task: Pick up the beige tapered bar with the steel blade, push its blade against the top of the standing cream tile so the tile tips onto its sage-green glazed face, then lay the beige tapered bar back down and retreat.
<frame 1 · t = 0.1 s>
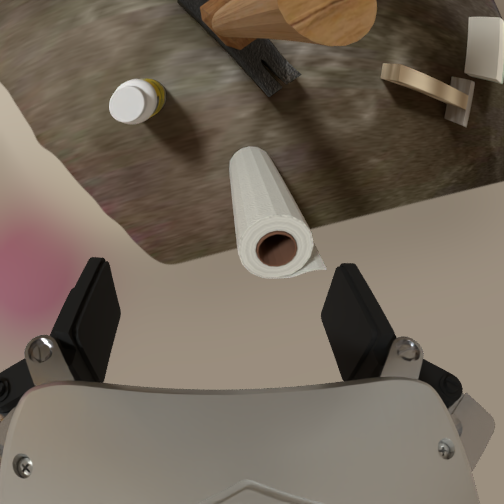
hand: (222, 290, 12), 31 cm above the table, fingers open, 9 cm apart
paper towel roll: (252, 169, 41), on the table
hammer: (229, 28, 29), on the table
supplement bottle: (147, 97, 33), on the table
tile: (470, 46, 29), on the table
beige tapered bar: (418, 84, 34), on the table
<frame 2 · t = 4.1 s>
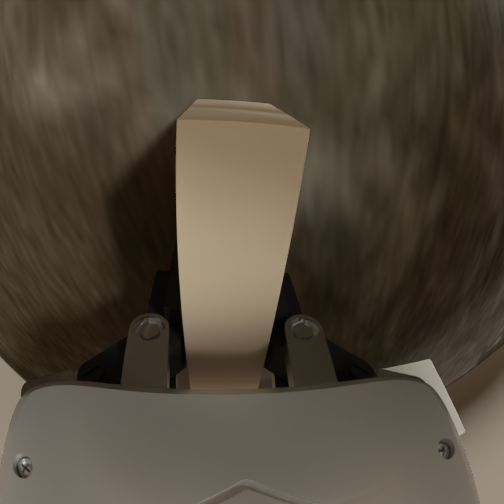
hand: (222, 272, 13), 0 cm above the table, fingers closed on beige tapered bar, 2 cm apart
tile: (370, 376, 21), on the table
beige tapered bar: (221, 266, 13), on the table, touching gripper
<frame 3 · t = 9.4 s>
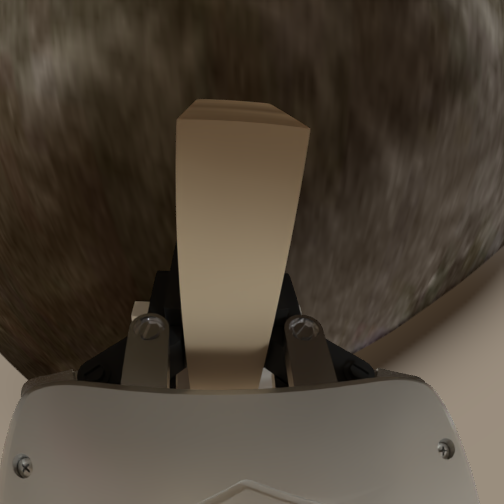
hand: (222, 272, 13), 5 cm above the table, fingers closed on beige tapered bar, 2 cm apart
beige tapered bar: (221, 266, 13), point 5 cm above the table, touching gripper
when the fingers open (2 cm above the table, at t = 14.5 s): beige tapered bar drops 1 cm, on the table.
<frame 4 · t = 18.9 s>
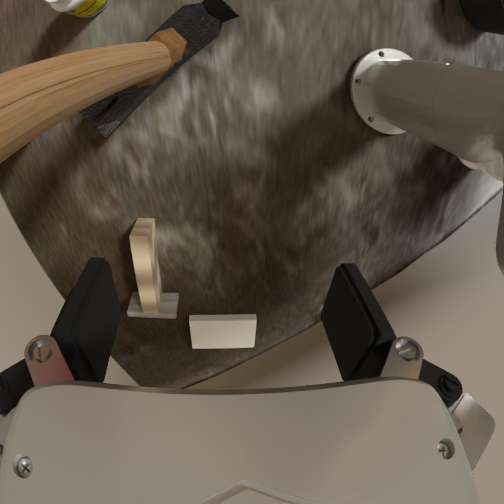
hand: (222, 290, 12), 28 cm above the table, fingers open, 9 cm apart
pen holder: (474, 9, 23), on the table
hammer: (160, 61, 29), on the table
supplement bottle: (93, 0, 22), on the table
tile: (222, 316, 52), on the table, tilted 90°
decorative container: (474, 136, 37), on the table
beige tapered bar: (150, 258, 44), on the table
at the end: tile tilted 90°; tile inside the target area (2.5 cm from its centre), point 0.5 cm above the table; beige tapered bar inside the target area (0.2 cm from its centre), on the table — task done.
